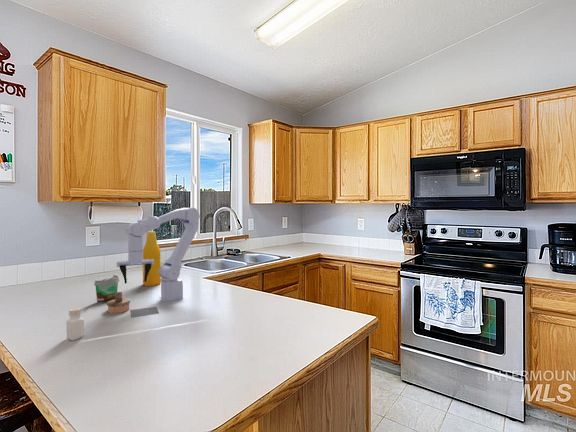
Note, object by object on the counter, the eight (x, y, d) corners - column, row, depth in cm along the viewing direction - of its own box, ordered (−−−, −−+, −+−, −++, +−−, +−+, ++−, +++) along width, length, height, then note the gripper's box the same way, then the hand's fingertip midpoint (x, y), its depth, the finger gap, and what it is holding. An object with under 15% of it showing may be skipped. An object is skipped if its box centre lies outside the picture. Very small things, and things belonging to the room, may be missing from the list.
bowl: (128, 307, 139) (128, 299, 139) (129, 312, 132) (129, 304, 132) (108, 309, 135) (108, 302, 135) (108, 315, 129) (108, 307, 129)
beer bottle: (157, 281, 186) (156, 230, 185) (163, 284, 180) (162, 231, 179) (140, 283, 180) (139, 231, 179) (146, 287, 173) (145, 232, 172)
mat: (156, 307, 138) (156, 306, 138) (159, 314, 129) (159, 313, 129) (130, 311, 133) (130, 310, 133) (131, 319, 124) (131, 317, 124)
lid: (132, 299, 139) (132, 289, 139) (127, 305, 130) (127, 295, 130) (110, 301, 137) (110, 290, 137) (103, 307, 128) (103, 296, 128)
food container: (106, 304, 143) (106, 281, 143) (94, 303, 145) (94, 280, 144) (125, 296, 156) (125, 275, 155) (114, 295, 157) (114, 275, 156)
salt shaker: (72, 341, 104) (71, 312, 104) (65, 338, 106) (65, 309, 106) (85, 337, 107) (84, 308, 107) (79, 334, 109) (78, 306, 109)
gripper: (152, 248, 147) (152, 278, 147) (116, 250, 140) (116, 281, 140) (154, 250, 141) (154, 281, 141) (116, 252, 134) (116, 285, 134)
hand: (135, 282), depth 140 cm, fingers open, 7 cm apart
